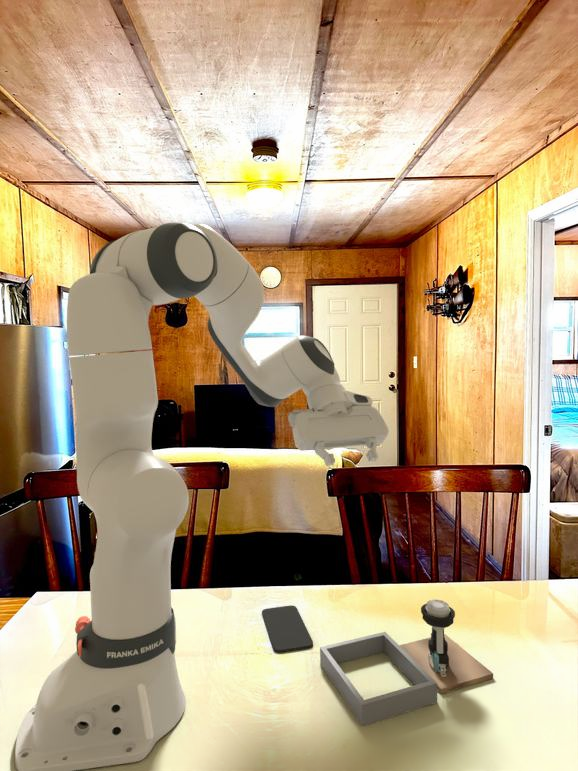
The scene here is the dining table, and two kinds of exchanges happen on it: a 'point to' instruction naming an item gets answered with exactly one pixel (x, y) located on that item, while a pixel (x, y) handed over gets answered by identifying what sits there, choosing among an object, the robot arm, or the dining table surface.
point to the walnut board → (460, 668)
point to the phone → (286, 629)
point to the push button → (438, 632)
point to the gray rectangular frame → (386, 703)
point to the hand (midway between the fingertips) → (352, 461)
